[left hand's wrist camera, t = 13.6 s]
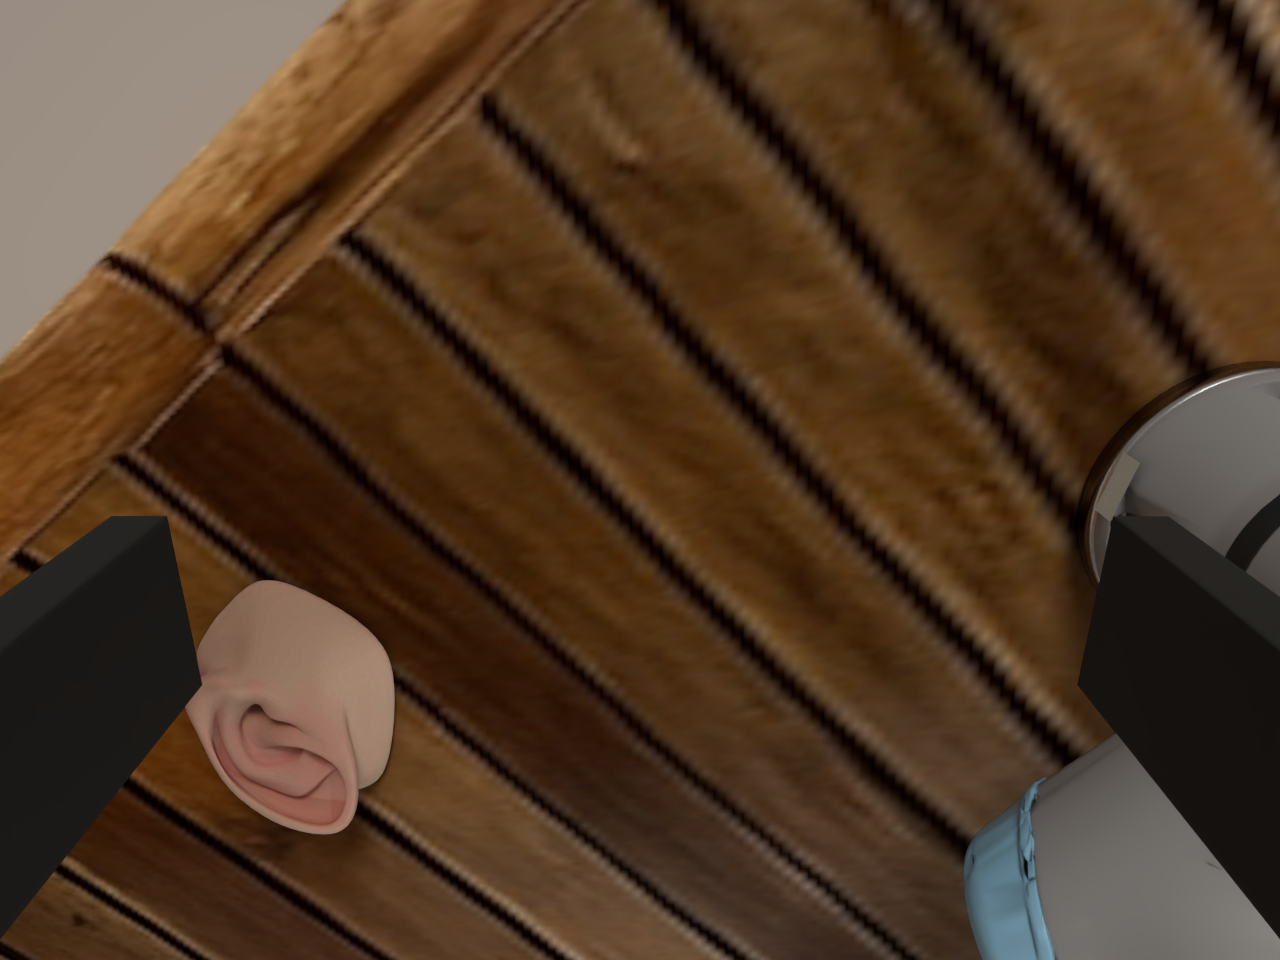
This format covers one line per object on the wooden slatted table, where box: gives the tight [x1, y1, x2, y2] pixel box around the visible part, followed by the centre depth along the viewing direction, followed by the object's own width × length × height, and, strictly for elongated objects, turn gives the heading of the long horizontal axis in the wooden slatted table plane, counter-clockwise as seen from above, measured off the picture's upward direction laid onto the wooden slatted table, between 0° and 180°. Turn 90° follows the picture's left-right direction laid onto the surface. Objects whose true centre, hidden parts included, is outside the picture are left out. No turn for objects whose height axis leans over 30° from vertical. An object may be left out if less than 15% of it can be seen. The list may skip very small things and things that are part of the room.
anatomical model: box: [185, 580, 395, 834], centre depth 48 cm, size 13×4×12 cm
